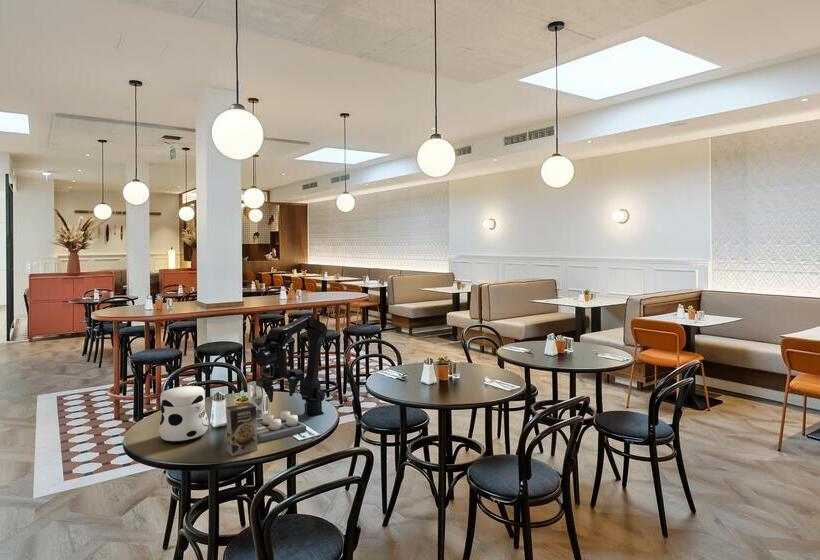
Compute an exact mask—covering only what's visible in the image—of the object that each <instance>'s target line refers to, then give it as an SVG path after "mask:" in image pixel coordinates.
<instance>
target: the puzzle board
mask: <svg viewBox="0 0 820 560" xmlns="http://www.w3.org/2000/svg"><path fill="white" fill-rule="evenodd" d="M274 419H279V416H277V417H274ZM305 431H306V432H307V426H306V424H303V423H302V422H300V421H299V420H298V425H295V426H287V421H281V429H279V430H270V426H269V425H263V420H260V421H259V420H258V421H257V441H259V442H260V443H261V444H262V443H263V444H264V443H267V442H271V441H276V440H279V439H283V438H286V437H291V436H294V434H295V435H298V434H297V433H299V434H301V432H303V433H306V432H305Z"/></svg>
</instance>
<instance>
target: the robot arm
mask: <svg viewBox="0 0 820 560" xmlns="http://www.w3.org/2000/svg"><path fill="white" fill-rule="evenodd" d="M302 330H304V331H306V337H307V339H308V342H309V344H308V345H309V346H308V356H307V365H306V373H305V377H304V372H303V370H302V369H299V368H298V369H297V368H292V369H289V370H288V366H290V362H288V360H287V358H288V357H287V348H289V347H291V346H290V344H288V342H289V341H290V340H291V339H292V336H293V335H295V334H297V333H299V332H300V331H302ZM327 333H328V326H327V325H326V323H324V322H322V321H320V320H318V319H316V318H314V317H313V316H312V315H302V316H300V317H299V318H297V319H294V321H292V322H289V323H287V324H286V325H283V326H277V327H273V328H270V329H269V330H268V333H267V335H266V338H265V339H264V342H263V344H262V347H259V348H258V352H256V353H255V357H254V361H255V363H256V365H257V366H259V373H260V375H261V377H257V378H256V380H255V381H256V386H259V387H261V388H263V389H264V390H265V395H267V396H266V397H267V399H268V401H269V403H273V400H274V386H273V384H274V383H275V382H278V381H283V380H286V379H287V382H288V393H289V397H293V394H294V392H295V390H296V387H297V386H298V384H299V383H300V384H299V394H300V396H301V399H302V400H303V401H304V402H305V403H304V405H303V406H304V411H303V413H304V414H305V415H306V416H309V417H310V418H311V417H312V418H313V417H315V416H318V415H319V416H320V415H323V414H324V412H323V408H322V407H323V406H322V405H323V403H322V402H324V400H325V397H326V393H325V392H324V391H323V390H322V389H321V386H322V385H321V381H320V379H319V367H320V366H319V365H320V359H321V350H322V349H321V348H322V343H324V340H325V339H326V338H327ZM268 365H269V366H268ZM267 366H268V367H267ZM263 375H264V376H263ZM302 378H303V379H302Z"/></svg>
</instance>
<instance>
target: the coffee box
mask: <svg viewBox="0 0 820 560" xmlns="http://www.w3.org/2000/svg"><path fill="white" fill-rule="evenodd" d="M225 413H226V415H225V417H226V449H227V452H228V453H229V454H230V455H231V457H235V456H239V455H244V454H247V453H252V452H255V451H258V440H257V422H258V420H256V406H255V405H253V404H251V403H249V402H246V403H242V404H238V405H237V404H236V405H232V406H231V405H230V406H226V407H225Z"/></svg>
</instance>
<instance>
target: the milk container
mask: <svg viewBox="0 0 820 560" xmlns="http://www.w3.org/2000/svg"><path fill="white" fill-rule="evenodd" d="M204 389H205V388H203V387H202V386H198V385H196V386H195V385H187V386H185V385H184V386H177V387H174V388H169V389H167V390H163V391H162V392H161V393H160V397H159V399H160V401H159V403H160V421H159V425H158V432H159V435H160V438H161V439H162V440H163V441H165V442H168V443H185V442H190V441H193V440H197V439H199V438H201V437H203V436H204V435H205V434H206V433H207V432H208V429H209V417H208V415H207V411H206V400H205V399H206V398H205V390H204Z"/></svg>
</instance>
